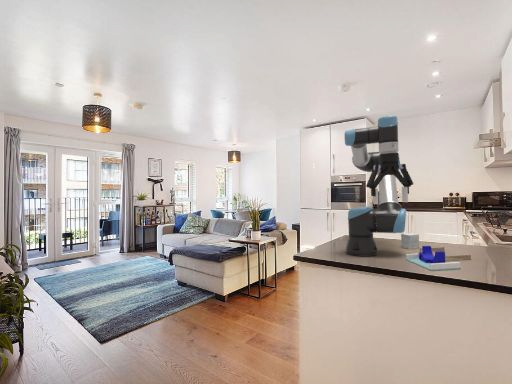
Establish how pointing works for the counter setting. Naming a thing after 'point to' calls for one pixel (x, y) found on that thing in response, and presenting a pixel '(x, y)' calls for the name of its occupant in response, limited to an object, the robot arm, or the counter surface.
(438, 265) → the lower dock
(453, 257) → the upper dock
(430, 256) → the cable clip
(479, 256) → the counter surface
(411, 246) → the grey block
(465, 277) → the counter surface
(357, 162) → the robot arm
